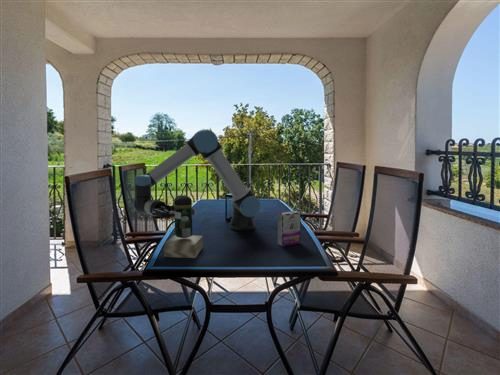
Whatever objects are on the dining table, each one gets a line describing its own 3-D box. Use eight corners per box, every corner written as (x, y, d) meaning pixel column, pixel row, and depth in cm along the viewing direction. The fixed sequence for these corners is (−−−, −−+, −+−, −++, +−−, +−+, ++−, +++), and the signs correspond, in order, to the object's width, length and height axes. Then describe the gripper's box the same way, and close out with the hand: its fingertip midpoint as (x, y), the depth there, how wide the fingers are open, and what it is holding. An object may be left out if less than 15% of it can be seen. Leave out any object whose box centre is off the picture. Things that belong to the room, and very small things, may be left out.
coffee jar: (174, 233, 146) (173, 194, 143) (190, 231, 148) (190, 193, 146) (175, 239, 137) (174, 198, 134) (193, 237, 139) (192, 197, 136)
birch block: (202, 247, 150) (202, 235, 149) (195, 258, 136) (194, 244, 135) (174, 246, 151) (174, 234, 150) (164, 256, 137) (164, 243, 136)
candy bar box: (294, 241, 161) (295, 210, 158) (300, 243, 156) (301, 212, 154) (276, 244, 156) (277, 212, 153) (282, 247, 151) (282, 214, 149)
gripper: (173, 211, 161) (204, 217, 148) (137, 219, 144) (169, 227, 131) (172, 197, 160) (204, 202, 147) (136, 203, 143) (169, 209, 130)
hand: (188, 214), depth 139 cm, fingers closed on coffee jar, 8 cm apart
